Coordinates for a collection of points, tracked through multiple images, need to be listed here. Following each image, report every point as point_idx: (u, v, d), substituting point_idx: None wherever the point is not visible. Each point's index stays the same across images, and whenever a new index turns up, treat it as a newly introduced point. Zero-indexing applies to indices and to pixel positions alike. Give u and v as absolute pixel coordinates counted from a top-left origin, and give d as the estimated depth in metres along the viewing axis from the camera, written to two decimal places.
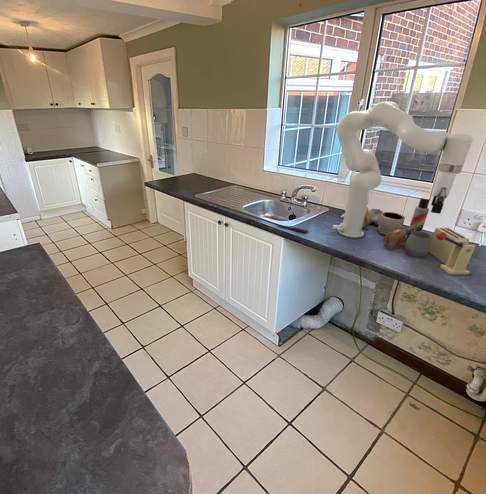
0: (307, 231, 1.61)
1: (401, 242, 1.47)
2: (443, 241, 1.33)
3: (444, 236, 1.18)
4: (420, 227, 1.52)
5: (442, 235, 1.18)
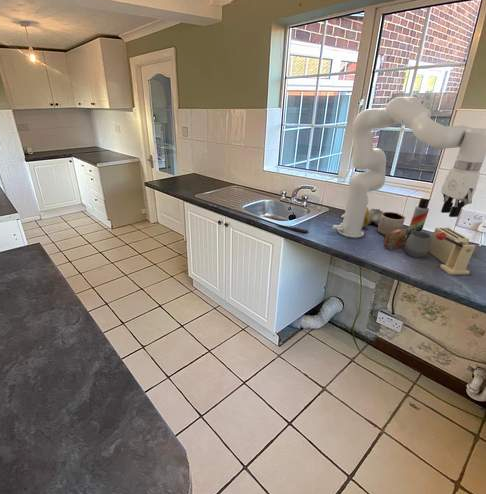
0: (307, 231, 1.61)
1: (401, 242, 1.47)
2: (443, 241, 1.33)
3: (444, 236, 1.18)
4: (420, 227, 1.52)
5: (442, 235, 1.18)
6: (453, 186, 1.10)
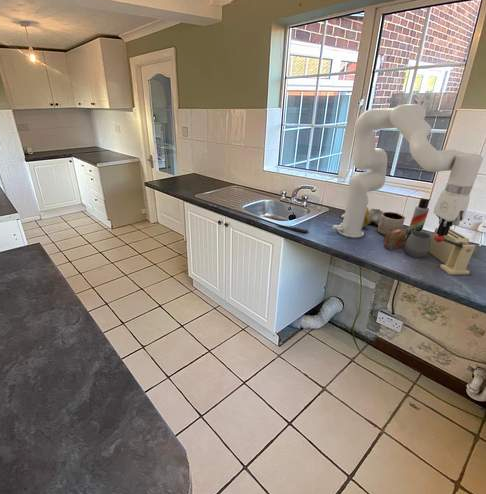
0: (307, 231, 1.61)
1: (401, 242, 1.47)
2: (443, 241, 1.33)
3: (442, 238, 1.19)
4: (420, 227, 1.52)
5: (440, 237, 1.19)
6: (445, 208, 1.14)
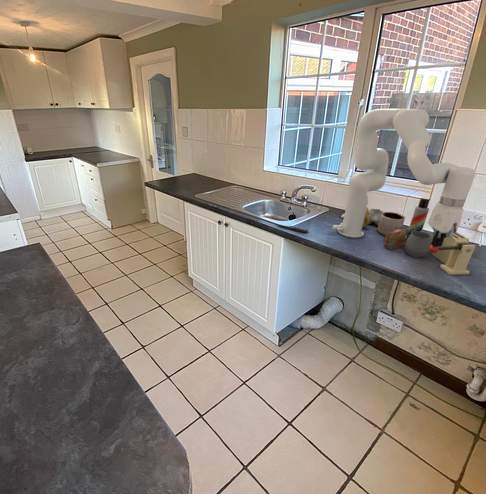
0: (307, 231, 1.61)
1: (401, 242, 1.47)
2: (443, 241, 1.33)
3: (436, 249, 1.21)
4: (420, 227, 1.52)
5: (433, 249, 1.21)
6: (439, 220, 1.16)
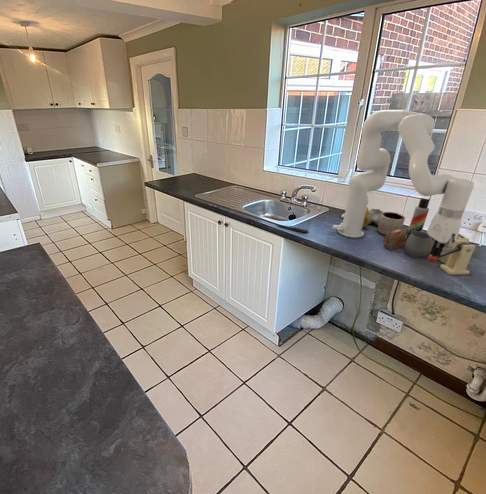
0: (307, 231, 1.61)
1: (401, 242, 1.47)
2: None
3: (434, 259, 1.23)
4: (420, 227, 1.52)
5: (432, 259, 1.23)
6: (437, 230, 1.18)
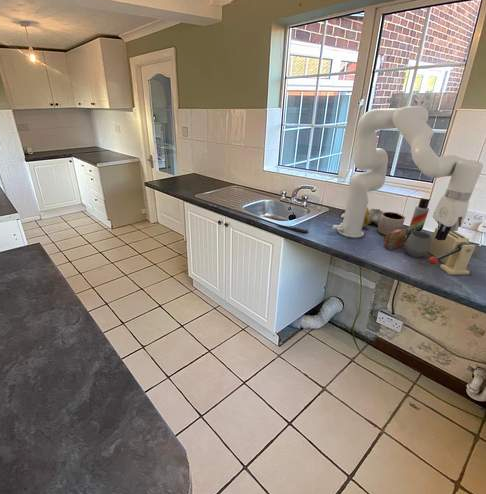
0: (307, 231, 1.61)
1: (401, 242, 1.47)
2: (443, 241, 1.33)
3: (435, 261, 1.23)
4: (420, 227, 1.52)
5: (432, 262, 1.24)
6: (444, 213, 1.15)
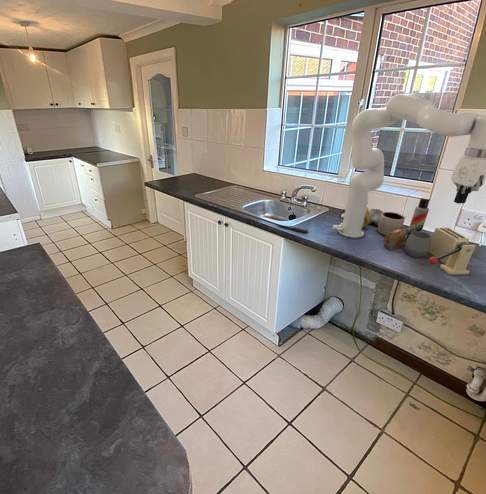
0: (307, 231, 1.61)
1: (401, 242, 1.47)
2: (443, 241, 1.33)
3: (435, 261, 1.23)
4: (420, 227, 1.52)
5: (432, 262, 1.24)
6: (463, 174, 1.10)
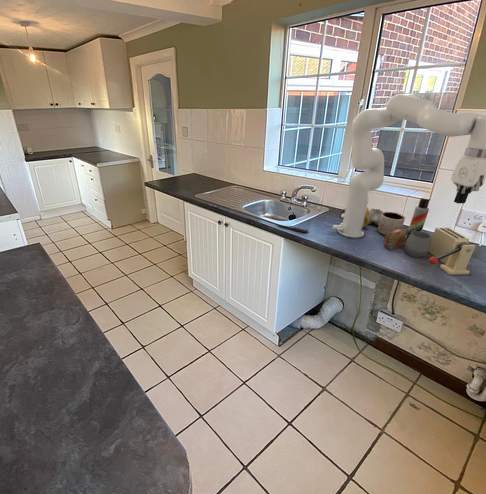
0: (307, 231, 1.61)
1: (401, 242, 1.47)
2: (443, 241, 1.33)
3: (435, 261, 1.23)
4: (420, 227, 1.52)
5: (432, 262, 1.24)
6: (464, 174, 1.10)
